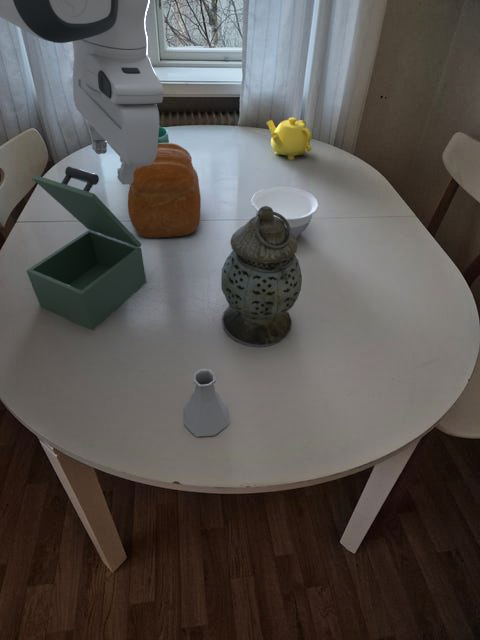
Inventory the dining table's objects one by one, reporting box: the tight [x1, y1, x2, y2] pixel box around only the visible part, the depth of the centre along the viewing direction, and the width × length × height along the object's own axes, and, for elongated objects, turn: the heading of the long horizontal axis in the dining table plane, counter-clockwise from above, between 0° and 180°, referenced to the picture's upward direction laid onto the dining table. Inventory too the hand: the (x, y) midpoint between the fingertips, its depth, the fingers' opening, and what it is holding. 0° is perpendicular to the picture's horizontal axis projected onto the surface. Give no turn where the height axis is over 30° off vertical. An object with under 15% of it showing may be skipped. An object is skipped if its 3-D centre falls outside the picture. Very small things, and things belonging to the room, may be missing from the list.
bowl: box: [250, 185, 319, 240], centre depth 104 cm, size 16×16×8 cm
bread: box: [127, 142, 202, 238], centre depth 106 cm, size 18×22×17 cm
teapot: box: [266, 117, 313, 160], centre depth 140 cm, size 14×14×11 cm
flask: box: [183, 368, 230, 438], centre depth 64 cm, size 7×7×10 cm
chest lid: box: [31, 165, 143, 248], centre depth 80 cm, size 17×14×5 cm
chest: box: [25, 229, 148, 331], centre depth 85 cm, size 17×14×9 cm
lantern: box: [220, 206, 303, 348], centre depth 75 cm, size 14×14×25 cm
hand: (112, 166), depth 64 cm, fingers open, 8 cm apart
